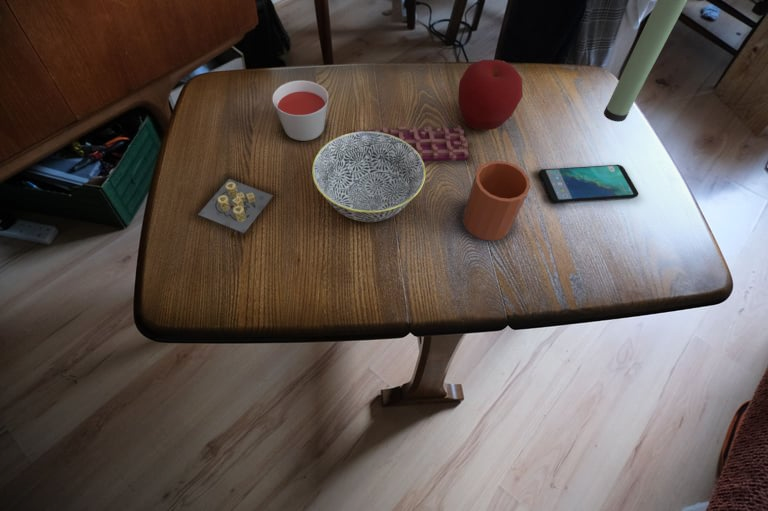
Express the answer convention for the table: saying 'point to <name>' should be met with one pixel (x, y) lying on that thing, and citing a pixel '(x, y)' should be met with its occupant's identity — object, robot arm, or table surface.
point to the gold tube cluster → (236, 205)
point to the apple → (489, 94)
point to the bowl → (368, 175)
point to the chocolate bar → (432, 142)
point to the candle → (301, 109)
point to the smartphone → (587, 183)
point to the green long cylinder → (643, 57)
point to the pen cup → (495, 200)
